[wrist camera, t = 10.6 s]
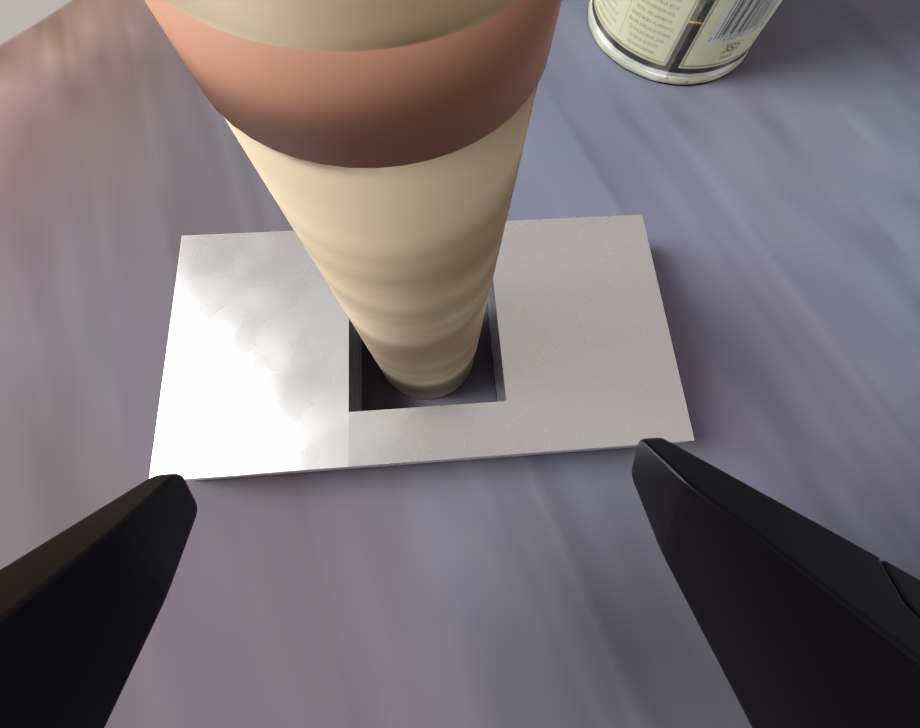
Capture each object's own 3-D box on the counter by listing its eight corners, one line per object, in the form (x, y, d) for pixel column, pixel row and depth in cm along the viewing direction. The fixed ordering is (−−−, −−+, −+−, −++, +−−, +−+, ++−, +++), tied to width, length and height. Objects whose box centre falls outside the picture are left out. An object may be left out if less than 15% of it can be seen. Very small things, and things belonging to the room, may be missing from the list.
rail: (660, 445, 17) (694, 440, 15) (192, 480, 16) (149, 481, 14) (618, 246, 20) (641, 214, 18) (215, 266, 19) (181, 235, 17)
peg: (449, 417, 17) (460, 134, 3) (360, 373, 18) (-8, -58, 3) (491, 331, 19) (643, -167, 4) (406, 292, 19) (278, -283, 5)
